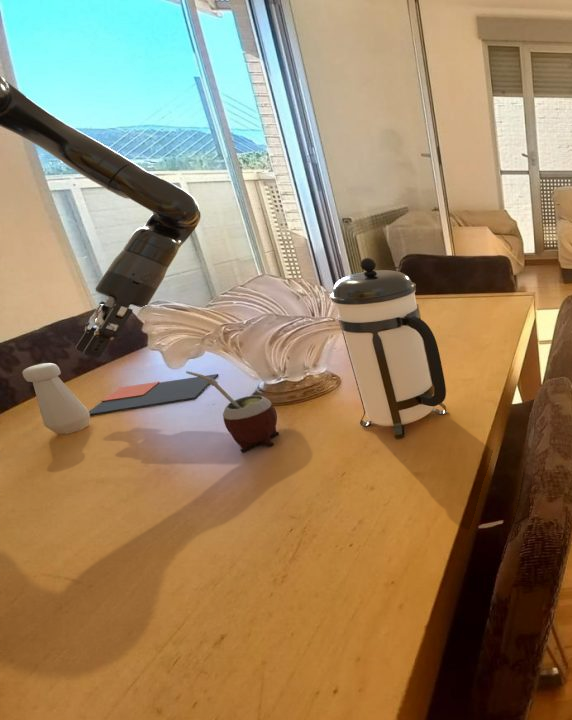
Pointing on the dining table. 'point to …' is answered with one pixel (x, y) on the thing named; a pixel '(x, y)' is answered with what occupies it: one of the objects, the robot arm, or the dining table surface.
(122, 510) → the dining table surface
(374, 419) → the coffee press
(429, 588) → the dining table surface
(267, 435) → the mate gourd
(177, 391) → the dark grey flat slab
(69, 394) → the salt shaker
